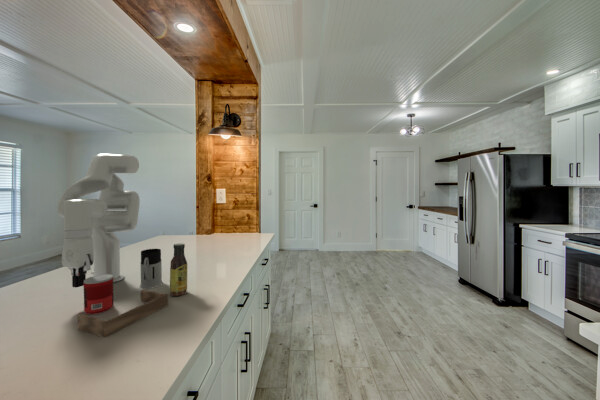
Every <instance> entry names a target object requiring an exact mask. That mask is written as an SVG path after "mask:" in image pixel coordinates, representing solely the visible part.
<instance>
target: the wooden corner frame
mask: <svg viewBox="0 0 600 400" xmlns="http://www.w3.org/2000/svg"><path fill="white" fill-rule="evenodd" d="M168 296H169V295H168V294H167V293H162V292H156V291H152V290H146V289H142V290H140V302H142V304H141V305H138V306H136V307H134V308H131V309H130V310H128V311H125V312H123V313H121V314H118V315H116V316H115V317H112V318H109V319H107V320H104V319H101V318H97V317H93V316H91V315H90V316H89V315H87V314H86V315H85V314H79V315H77V330H80V331H83V332H86V333H89V334H93V335H96V336H99V337H103V338H106V337H109V336H110V335H112V334H115V333H117V332H118V331H120V330H122V329H124V328H126V327H129V326H130V325H133V324H135V323H136V322H138V321H140V320H142V319H144V318H146V317H148V316H150V315H152V314H154V313H156V312H158V311H159V310H160V311H161V310H162V309H163V308H165V307H168V306H169V304H168V302H169V301H168V300H169V297H168Z"/></svg>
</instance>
